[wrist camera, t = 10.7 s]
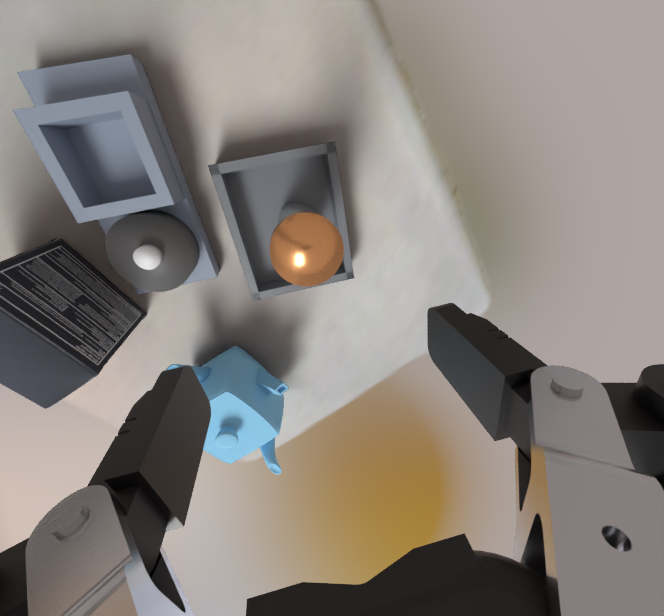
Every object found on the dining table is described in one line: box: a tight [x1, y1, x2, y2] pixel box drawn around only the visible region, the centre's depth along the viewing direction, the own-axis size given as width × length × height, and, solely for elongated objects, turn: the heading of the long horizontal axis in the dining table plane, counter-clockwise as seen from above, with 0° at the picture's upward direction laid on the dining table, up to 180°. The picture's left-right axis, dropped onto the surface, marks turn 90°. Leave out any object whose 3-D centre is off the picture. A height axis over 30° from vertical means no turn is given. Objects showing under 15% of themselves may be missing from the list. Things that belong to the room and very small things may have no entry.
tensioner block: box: [13, 54, 220, 294], centre depth 25 cm, size 18×8×5 cm, turn 10°
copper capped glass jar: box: [270, 202, 344, 287], centre depth 25 cm, size 5×5×11 cm
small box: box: [0, 239, 147, 408], centre depth 26 cm, size 11×6×10 cm, turn 32°
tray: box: [208, 142, 354, 301], centre depth 29 cm, size 13×11×3 cm
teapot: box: [167, 346, 289, 474], centre depth 34 cm, size 18×14×10 cm
